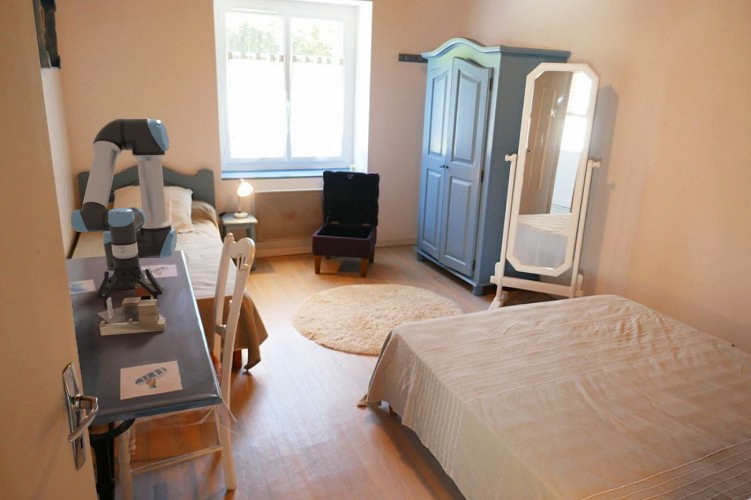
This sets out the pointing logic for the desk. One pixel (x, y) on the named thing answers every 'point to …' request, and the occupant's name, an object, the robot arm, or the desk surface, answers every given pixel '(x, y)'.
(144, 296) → the battery
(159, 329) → the rail
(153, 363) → the desk surface
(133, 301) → the cardboard box
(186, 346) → the desk surface
